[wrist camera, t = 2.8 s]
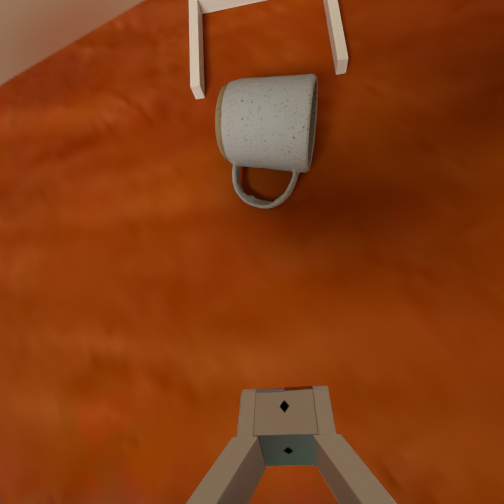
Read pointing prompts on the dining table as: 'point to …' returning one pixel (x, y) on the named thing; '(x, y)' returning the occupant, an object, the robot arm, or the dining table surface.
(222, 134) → the ceramic mug
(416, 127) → the dining table surface
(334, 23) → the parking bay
